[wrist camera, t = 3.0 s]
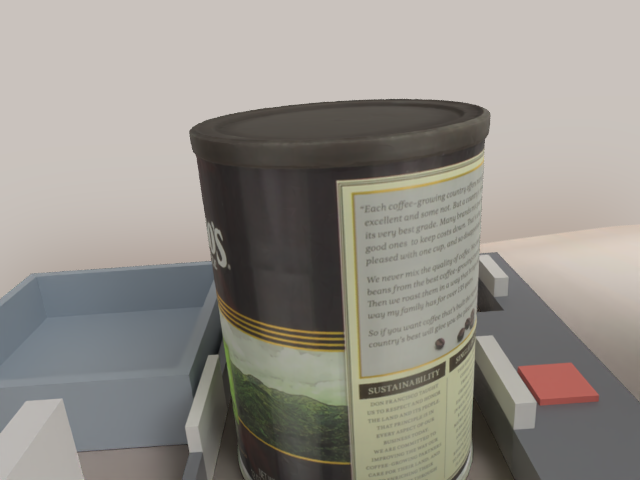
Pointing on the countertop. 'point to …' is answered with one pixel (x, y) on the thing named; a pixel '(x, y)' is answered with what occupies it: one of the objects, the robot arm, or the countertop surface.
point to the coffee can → (348, 284)
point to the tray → (111, 349)
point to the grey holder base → (500, 392)
